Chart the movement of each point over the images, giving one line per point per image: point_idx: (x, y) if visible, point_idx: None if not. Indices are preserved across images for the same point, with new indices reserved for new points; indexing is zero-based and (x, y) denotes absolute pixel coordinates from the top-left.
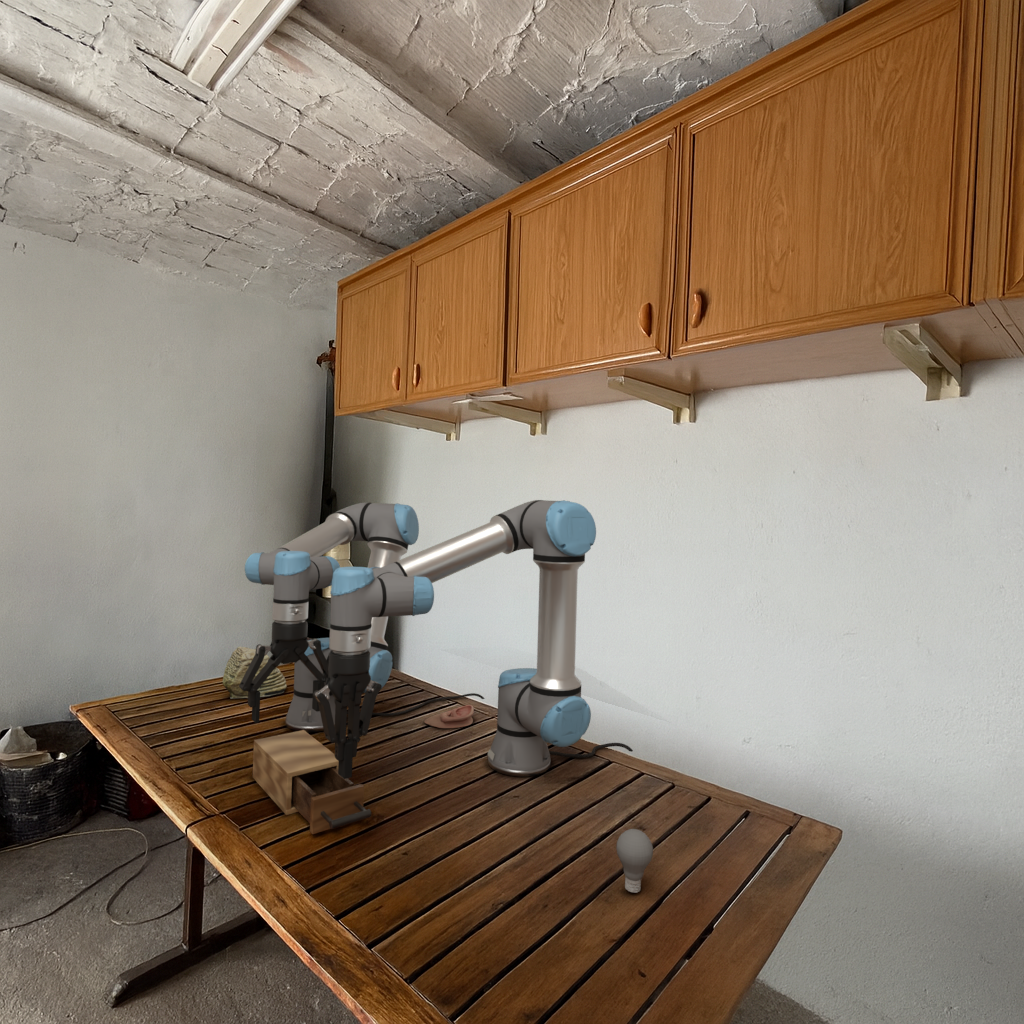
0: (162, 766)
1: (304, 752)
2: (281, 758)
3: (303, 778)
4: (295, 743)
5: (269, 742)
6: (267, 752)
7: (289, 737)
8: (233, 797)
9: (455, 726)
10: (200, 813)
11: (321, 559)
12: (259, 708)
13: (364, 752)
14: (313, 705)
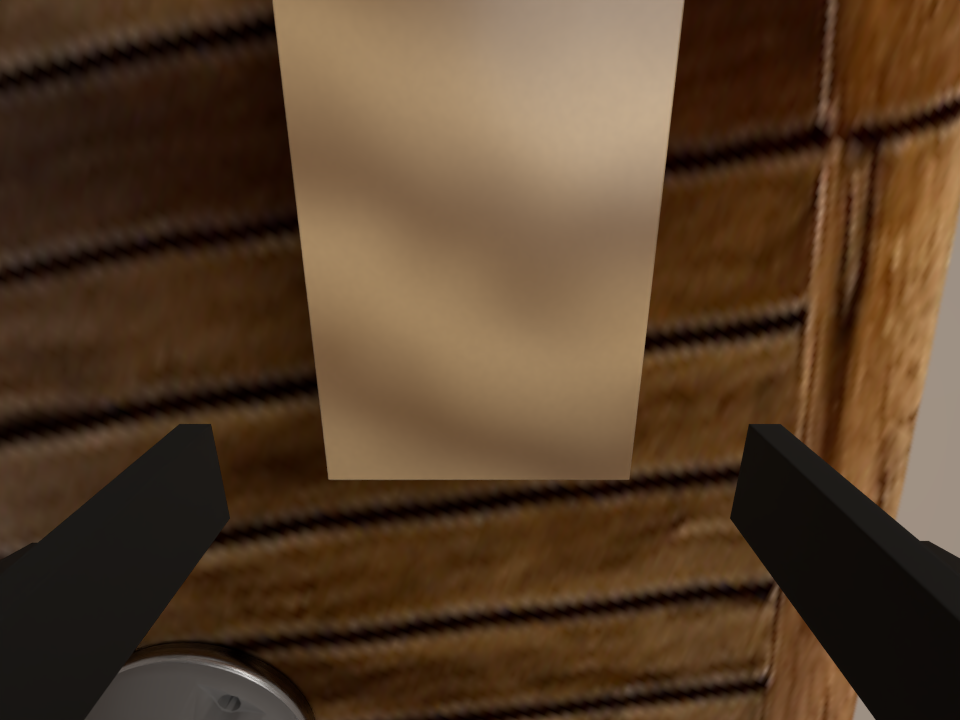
0: (793, 632)
1: (449, 114)
2: (623, 97)
3: None
4: (445, 305)
5: (572, 403)
6: (650, 257)
7: (443, 414)
8: (721, 256)
9: None
10: (886, 186)
11: None
12: (832, 501)
13: (79, 375)
14: (207, 515)
